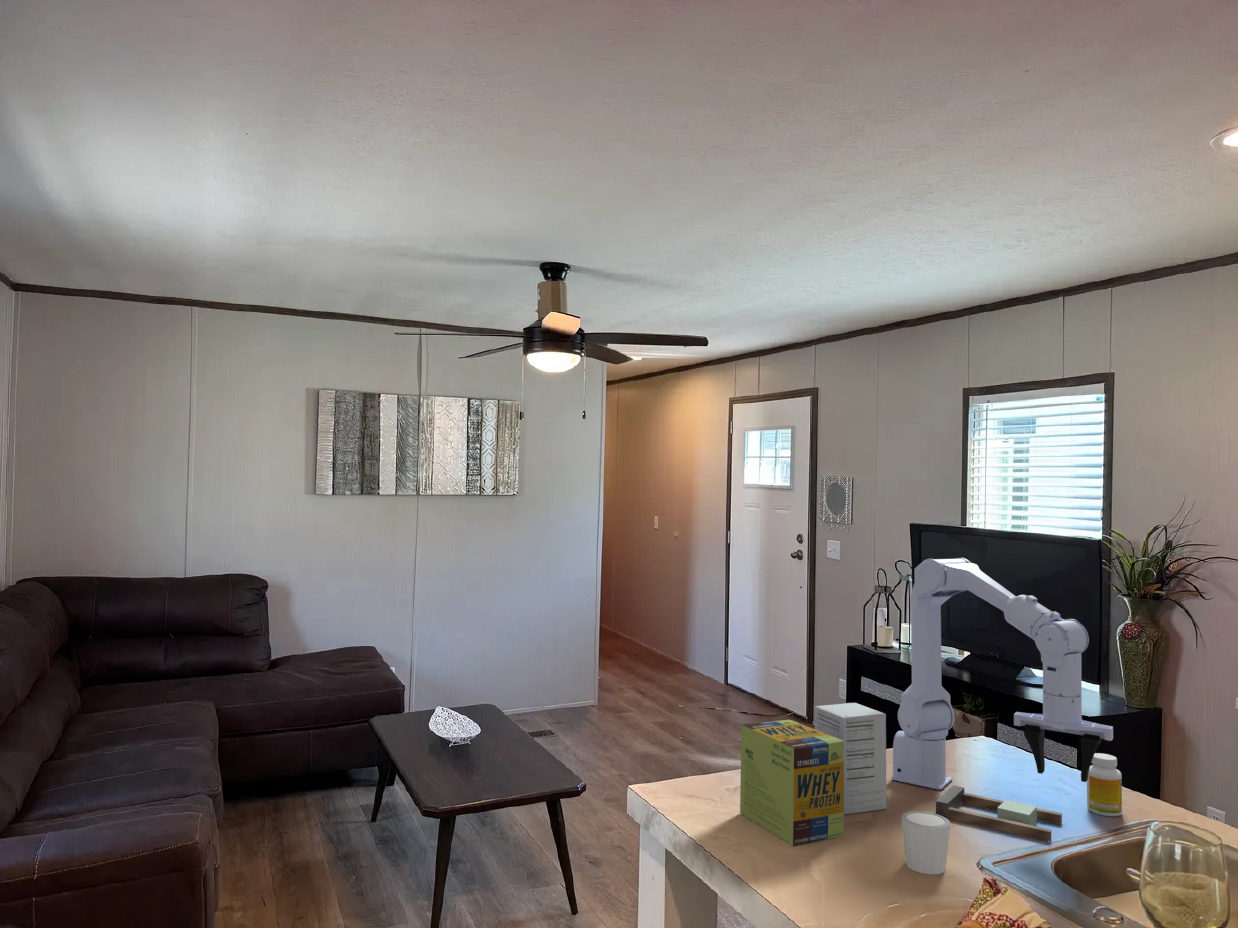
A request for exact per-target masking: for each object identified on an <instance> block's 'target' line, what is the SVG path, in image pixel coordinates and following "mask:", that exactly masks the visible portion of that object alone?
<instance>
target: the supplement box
mask: <svg viewBox="0 0 1238 928" xmlns="http://www.w3.org/2000/svg"><path fill="white" fill-rule="evenodd" d="M886 718H887V714H886V713H884V712H882V711H879V710H876V709H873V708H871V707H868V706H865V705H862V704H859V703H857V702H846V703H834V704H823V705H815V706H814V729H815V730H818V731H820V732H823V733H825V734H827V735H830V736H833V737H835V738H838V739H841V740H843V741H844V815H848V814H850V815H851V814H858V813H864V812H865V813H866V812H873V811H880V810H887V726H886V725H887V723H886V722H887V719H886Z"/></svg>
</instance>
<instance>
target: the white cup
mask: <svg viewBox="0 0 1238 928" xmlns="http://www.w3.org/2000/svg"><path fill="white" fill-rule="evenodd" d="M901 822H902V825H901V826H902V834H903V835H902V836H903V846H904V856H905V857H904V858H905V864H906V866H907V868H909V869H910V870H912V871H914V872H916V873H920V874H925V875H935V876H936V875H940V874H943V873H945V871H946V869H947V862H948V860H947V859H948V852H949V839H950V829H951V821H950V819H949V818H945V817H943V816H940V815H937V814H936V813H934V812H930V811H929V812H928V811H920V810H919V811H917V810H916V811H908V812H904V813H903V814H902V816H901Z"/></svg>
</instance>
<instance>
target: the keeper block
mask: <svg viewBox="0 0 1238 928" xmlns="http://www.w3.org/2000/svg"><path fill="white" fill-rule="evenodd" d="M1003 801H1004V802H1003V803H1002V804H1001V805H1000V806H999V807H998V808H997V811H996V812H997V814H996V815H997V818H1001V819H1006V820H1010V821H1015V822H1019V823H1024V824H1028V825H1033V826H1037V823H1038V822H1037V821H1038V820H1037V808H1038V807H1037V806H1036V805H1030V804H1025V803H1023V802H1022V803H1021V802H1017V801H1013V800H1008V799H1005V800H1003Z"/></svg>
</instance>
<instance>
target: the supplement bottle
mask: <svg viewBox="0 0 1238 928" xmlns="http://www.w3.org/2000/svg"><path fill="white" fill-rule="evenodd" d="M1091 764H1092V765H1090V769H1089V774H1088V780H1087V781H1086V805H1087V806H1086V807H1087V810H1089V811H1090V812H1091V813H1094V814H1096V815H1100V816H1104V817H1119V816H1121V815H1123V814H1122V813H1123V790H1122V789H1123V788H1122V787H1123V784H1122V783H1123V782H1122V781H1123V780H1122V772H1121V771H1120V770H1119V769H1117V767H1118V758H1117V757H1116V756H1115V755H1111V754H1109V753H1103V752H1102V753H1100V752H1097V753H1096V752H1095V754H1094V756H1093V759H1092V762H1091Z"/></svg>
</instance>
